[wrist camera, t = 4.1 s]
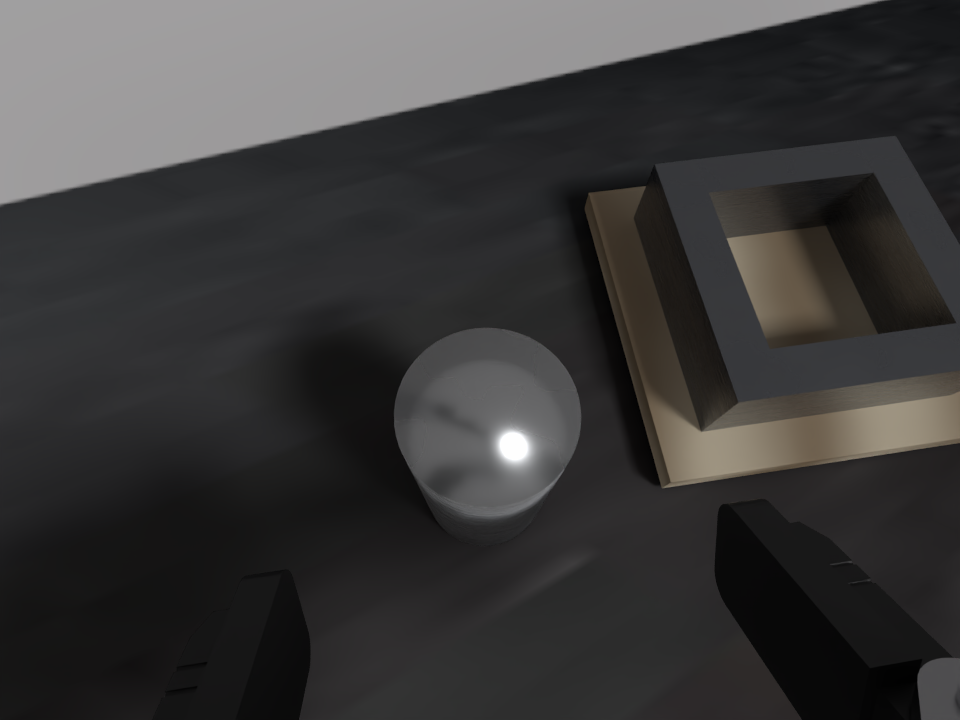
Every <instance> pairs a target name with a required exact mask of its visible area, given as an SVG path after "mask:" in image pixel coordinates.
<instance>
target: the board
mask: <svg viewBox="0 0 960 720" xmlns="http://www.w3.org/2000/svg"><path fill="white" fill-rule="evenodd" d="M645 187H646V186H642V187H634V188H626V189H617V190H609V191H601V192H592V193H589V194H588V198H587V201H586V205H585V212H586V216H587V219H588V223H589V227H590V230H591V234H592V237H593V241H594V245H595V248H596V252H597V255H598V259H599V263H600V266H601V270H602V274H603V277H604V281H605V284H606V288H607V292H608V295H609V299H610V302H611V306H612V310H613V313H614V317H615V321H616V324H617V328H618V331H619V335H620V339H621V342H622V346H623V350H624V353H625V357H626V360H627V364H628V368H629V371H630V375H631V378H632V382H633V386H634V389H635V393H636V397H637V400H638V404H639V407H640V411H641V415H642V418H643V422H644V425H645V429H646V433H647V436H648V440H649V444H650V447H651V451H652V454H653V458H654V462H655V465H656V469H657V473H658V476H659V480H660V483H661V487H662V488H667V487H674V486H680V485H687V484H693V483H700V482H706V481H713V480H720V479H726V478H733V477H739V476H746V475H752V474H759V473H765V472H772V471H779V470H785V469H792V468H798V467H805V466H811V465H818V464H824V463H831V462H837V461H844V460H851V459H857V458H864V457H870V456H877V455H883V454H890V453H896V452H903V451H909V450H916V449H923V448H929V447H936V446H942V445H949V444H955V443H960V391H959V392H957V393H955V394H953V395H949V396H942V397H935V398H928V399H922V400H915V401H908V402H901V403H894V404H888V405H881V406H874V407H867V408H861V409H854V410H847V411H840V412H833V413H827V414H820V415H813V416H806V417H799V418H793V419H786V420H779V421H772V422H765V423H759V424H752V425H745V426H738V427H731V428H725V429H718V430H711V431H704V432H701V429H700V426H699V423H698V420H697V417H696V413H695V410H694V407H693V404H692V401H691V398H690V395H689V391H688V388H687V385H686V382H685V379H684V376H683V372H682V369H681V366H680V363H679V360H678V357H677V354H676V350H675V347H674V344H673V341H672V338H671V335H670V331H669V328H668V325H667V322H666V319H665V316H664V313H663V309H662V306H661V303H660V300H659V297H658V294H657V290H656V287H655V284H654V281H653V278H652V275H651V272H650V268H649V265H648V262H647V259H646V256H645V253H644V249H643V246H642V243H641V240H640V237H639V234H638V231H637V227H636V224H635V221H634V215H635V213H636V210H637V208H638V205H639V203H640V200H641V198H642V195H643V193H644V190H645ZM727 241H728V243H729V246H730V248H731V251H732V253H733V256H734V258H735V261H736V264H737V266H738V269H739V271H740V274H741V276H742V279H743V281H744V284H745V287H746V289H747V292H748V294H749V297H750V299H751V302H752V304H753V307H754V310H755V312H756V315H757V317H758V320H759V322H760V325H761V327H762V330H763V333H764V335H765V338H766V340H767V343H768V345H769V348H770V349H774V348H782V347H789V346H796V345H803V344H810V343H817V342H825V341H832V340H839V339H846V338H853V337H860V336H868V335H875V334H878V333H877V331H876V329H875V327H874V325H873V323H872V320H871V318H870V316H869V314H868V312H867V310H866V308H865V306H864V304H863V302H862V300H861V298H860V296H859V294H858V291H857V289H856V287H855V285H854V283H853V281H852V279H851V277H850V275H849V273H848V271H847V269H846V267H845V264H844V262H843V260H842V258H841V256H840V254H839V252H838V250H837V248H836V246H835V244H834V242H833V240H832V238H831V235H830V233H829V231H828V229H827V227H826V226H819V227H811V228H803V229H795V230H788V231H780V232H772V233H764V234H756V235H748V236H740V237H732V238H727Z"/></svg>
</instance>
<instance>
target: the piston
mask: <svg viewBox="0 0 960 720" xmlns="http://www.w3.org/2000/svg"><path fill="white" fill-rule="evenodd" d="M394 427H395V433H396V438H397V441H398V444H399V447H400V450H401V452H402V454H403V456H404V458H405V460H406V462H407V464H408V466H409V468H410V470H411V472H412V474H413V476H414V478H415V480H416V482H417V484H418V486H419V488H420V490H421V492H422V494H423V496H424V498H425V500H426V502H427V504H428V506H429V508H430V510H431V512H432V514H433V516H434V517H435V519H436V521H437V522H438V523H439V525H440V526H441V527H442V528H443V529H444V530H445V531H446V532H447V533H448V534H450V535H451V536H453V537H454V538H456V539H458V540H460V541H462V542H464V543H467V544H471V545H476V546H494V545H498V544H502V543H505V542H508V541H510V540H512V539H513V538H515V537H517V536H518V535H519V534H521V533H522V532H523V531H524V530H525V529H526V528H527V527H528V526H529V525H530V523H531V522H532V521H533V519H534V518H535V516H536V514H537V513H538V511H539V510H540V508H541V506H542V505H543V503H544V501H545V500H546V498H547V497H548V495H549V493H550V492H551V490H552V488H553V487H554V485H555V484H556V482H557V480H558V479H559V477H560V475H561V474H562V472H563V471H564V469H565V467H566V466H567V464H568V462H569V461H570V459H571V457H572V455H573V453H574V450H575V448H576V446H577V442H578V438H579V434H580V427H581V408H580V402H579V397H578V393H577V390H576V387H575V385H574V383H573V380H572V378H571V376H570V375H569V373H568V371H567V370H566V368H565V367H564V365H563V364H562V363H561V362H560V361H559V359H558V358H557V357H556V356H555V355H554V354H553V353H552V352H551V351H549V350H548V349H547V348H545V347H544V346H543V345H541V344H540V343H538V342H537V341H535V340H533V339H531V338H529V337H527V336H525V335H522V334H520V333H517V332H513V331H510V330H504V329H498V328H476V329H470V330H464V331H461V332H458V333H454V334H452V335H449V336H447V337H445V338H443V339H441V340H439V341H438V342H436V343H434V344H433V345H431V346H430V347H429V348H427V349H426V350H425V351H424V352H423V353H422V354H421V355H420V356H419V357H418V358H417V359H416V360H415V361H414V362H413V364H412V365H411V366H410V367H409V369H408V370H407V372H406V374H405V376H404V377H403V379H402V382H401V384H400V387H399V389H398V392H397V396H396V400H395V408H394Z"/></svg>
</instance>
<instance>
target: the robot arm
mask: <svg viewBox="0 0 960 720" xmlns="http://www.w3.org/2000/svg"><path fill="white" fill-rule="evenodd" d="M715 578H716V583H717V586H718V590H719V592H720V595H721V597H722V599H723V601H724V603H725V605H726V606H727V608H728V609H729V611H730V612H731V614H732V615H733V617H734V618H735V620H736V621H737V623H738V624H739V626H740V627H741V629H742V630H743V632H744V633H745V635H746V636H747V638H748V639H749V641H750V642H751V644H752V645H753V647H754V648H755V650H756V651H757V653H758V654H759V656H760V657H761V659H762V660H763V662H764V663H765V665H766V666H767V668H768V669H769V671H770V672H771V674H772V675H773V677H774V678H775V680H776V681H777V683H778V684H779V686H780V687H781V689H782V690H783V692H784V693H785V695H786V696H787V698H788V699H789V701H790V702H791V704H792V705H793V707H794V708H795V710H796V711H797V713H798V714H799V716H800V717H801V719H802V720H960V659H959V658H953V657H952V656H951V655H950V654H949V653H948V652H947V651H946V650H945V649H944V648H943V647H942V646H941V645H939V644H938V643H937V642H936V641H935V640H934V639H933V638H932V637H931V636H930V635H929V634H928V633H927V632H926V631H925V630H924V629H923V628H922V627H921V626H920V625H919V624H918V623H917V622H916V621H915V620H913V619H912V618H911V617H910V616H909V615H908V614H907V613H906V612H905V611H904V610H903V609H902V608H901V607H900V606H899V605H898V604H897V603H896V602H895V601H894V600H893V599H892V598H891V597H890V596H889V595H887V594H886V593H885V592H884V591H883V590H882V589H881V588H880V587H879V586H878V585H877V584H876V583H872V582H871V578H870V577H869V576H868V575H867V574H866V573H865V572H864V571H862V570H861V569H860V568H859V567H858V566H857V565H853V563H852V560H851V559H850V558H849V557H848V556H847V555H846V554H845V553H844V552H843V551H842V550H841V549H840V548H839V547H838V546H836V545H835V544H834V543H833V542H832V541H831V540H830V539H829V538H827V537H826V536H824V535H822V534H820V533H818V532H817V531H815V530H813V529H811V528H810V527H808V526H806V525H804V524H802V523H801V522H795V523H789V522H788V521H787V520H786V519H785V518H784V517H783V516H782V515H781V514H780V513H779V512H778V511H777V510H776V509H775V508H774V507H773V506H772V505H771V504H770V503H769V502H768V501H767V500H765V499H754V500H748V501H741V502H735V503H728V504H723V505H721V506H720V508H719V511H718V521H717V536H716V552H715ZM309 668H310V638H309V632H308V629H307V625H306V622H305V618H304V615H303V611H302V608H301V604H300V601H299V597H298V594H297V590H296V587H295V583H294V580H293V577H292V574H291V573H290V571H289V570H280V571H274V572H267V573H261V574H254V575H248V576H244V577H243V578H242V580H241V582H240V584H239V586H238V588H237V591H236V593H235V596H234V598H233V601H232V603H231V606H230V608H229V609H226V610H220V611H214V612H213V613H212V614H211V615H210V616H209V617H208V618H207V619H206V620H205V622H204V623H203V624H202V625H201V626H200V627H199V628H198V629H197V631H196V632H195V633H194V634H193V635H192V636H191V637H190V639H189V641H188V643H187V645H186V648H185V650H184V652H183V654H182V656H181V658H180V661H179V663H178V665H177V672H174V674H173V676H172V678H171V680H170V682H169V684H168V686H167V689H166V691H165V692H166V695H165V697H163V698H162V699H161V702H160V704H159V706H158V708H157V710H156V712H155V715H154V717H153V719H152V720H299V717H300V712H301V707H302V702H303V697H304V693H305V688H306V683H307V678H308V673H309Z"/></svg>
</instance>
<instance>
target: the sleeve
mask: <svg viewBox="0 0 960 720" xmlns="http://www.w3.org/2000/svg"><path fill="white" fill-rule="evenodd" d="M634 221H635V224H636V227H637V231H638V234H639V237H640V240H641V243H642V246H643V249H644V253H645V256H646V259H647V262H648V265H649V268H650V272H651V275H652V278H653V281H654V284H655V287H656V290H657V294H658V297H659V300H660V303H661V306H662V309H663V313H664V316H665V319H666V322H667V325H668V328H669V331H670V335H671V338H672V341H673V344H674V347H675V350H676V354H677V357H678V360H679V363H680V366H681V369H682V372H683V376H684V379H685V382H686V385H687V388H688V391H689V395H690V398H691V401H692V404H693V407H694V410H695V413H696V417H697V420H698V423H699V426H700V429H701V432H704V431H711V430H718V429H725V428H731V427H738V426H745V425H752V424H759V423H765V422H772V421H779V420H786V419H793V418H799V417H806V416H813V415H820V414H827V413H833V412H840V411H847V410H854V409H861V408H867V407H874V406H881V405H888V404H894V403H901V402H908V401H915V400H922V399H928V398H935V397H942V396H949V395H953V394H955V393H957V392H959V391H960V245H959V243H958V241H957V239H956V238H955V236H954V234H953V233H952V231H951V229H950V228H949V226H948V224H947V222H946V221H945V219H944V217H943V216H942V214H941V212H940V211H939V209H938V207H937V205H936V204H935V202H934V200H933V199H932V197H931V195H930V194H929V192H928V190H927V188H926V187H925V185H924V183H923V182H922V180H921V178H920V177H919V175H918V173H917V172H916V170H915V168H914V166H913V165H912V163H911V161H910V160H909V158H908V156H907V155H906V153H905V151H904V149H903V148H902V146H901V144H900V143H899V141H898V139H897V138H896V136H890V137H882V138H873V139H865V140H856V141H848V142H839V143H831V144H822V145H814V146H805V147H797V148H788V149H780V150H771V151H763V152H754V153H746V154H737V155H729V156H720V157H712V158H703V159H695V160H686V161H678V162H669V163H661V164H655V165H654V167H653V170H652V172H651V175H650V177H649V180H648V182H647V185H646V187H645V190H644V193H643V195H642V198H641V200H640V203H639V205H638V208H637V210H636V213H635V215H634ZM819 226H826V227H827V229H828V231H829V233H830V235H831V238H832V240H833V242H834V244H835V246H836V248H837V250H838V252H839V254H840V256H841V258H842V260H843V262H844V264H845V267H846V269H847V271H848V273H849V275H850V277H851V279H852V281H853V283H854V285H855V287H856V289H857V291H858V294H859V296H860V298H861V300H862V302H863V304H864V306H865V308H866V310H867V312H868V314H869V316H870V318H871V320H872V323H873V325H874V327H875V329H876V331H877V333H878V334H875V335H868V336H860V337H853V338H846V339H839V340H832V341H825V342H817V343H810V344H803V345H796V346H789V347H782V348H774V349H770V348H769V345H768V343H767V340H766V338H765V335H764V333H763V330H762V327H761V325H760V322H759V320H758V317H757V315H756V312H755V310H754V307H753V304H752V302H751V299H750V297H749V294H748V292H747V289H746V287H745V284H744V281H743V279H742V276H741V274H740V271H739V269H738V266H737V264H736V261H735V258H734V256H733V253H732V251H731V248H730V246H729V243H728V241H727V238H732V237H740V236H748V235H756V234H764V233H772V232H780V231H788V230H795V229H803V228H811V227H819Z"/></svg>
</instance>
